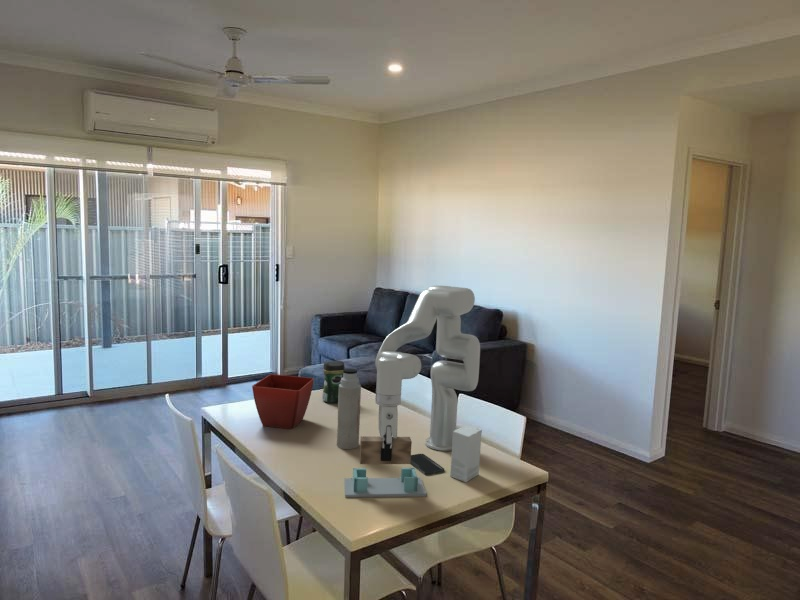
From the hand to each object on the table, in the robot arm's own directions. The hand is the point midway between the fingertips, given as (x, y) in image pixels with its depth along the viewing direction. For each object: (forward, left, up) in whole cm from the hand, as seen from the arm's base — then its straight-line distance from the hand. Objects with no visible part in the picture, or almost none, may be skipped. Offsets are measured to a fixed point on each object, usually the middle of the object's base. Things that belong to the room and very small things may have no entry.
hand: (385, 456), depth 168 cm
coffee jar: (+15, -89, -10) cm, 91 cm away
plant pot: (+35, -59, -10) cm, 69 cm away
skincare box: (-27, -8, -10) cm, 30 cm away
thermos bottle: (+10, -35, -10) cm, 38 cm away
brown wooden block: (0, 0, -1) cm, 1 cm away
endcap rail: (0, 0, -10) cm, 10 cm away
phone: (-15, -17, -11) cm, 25 cm away
